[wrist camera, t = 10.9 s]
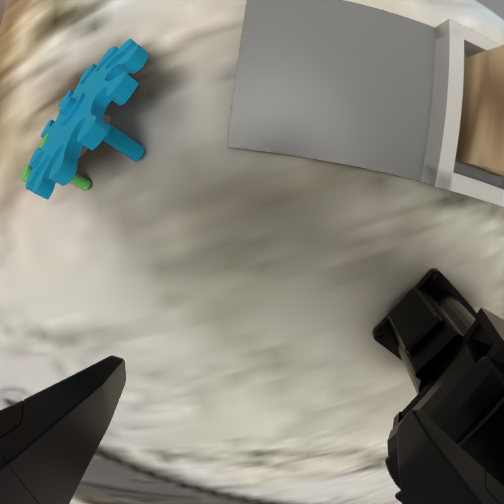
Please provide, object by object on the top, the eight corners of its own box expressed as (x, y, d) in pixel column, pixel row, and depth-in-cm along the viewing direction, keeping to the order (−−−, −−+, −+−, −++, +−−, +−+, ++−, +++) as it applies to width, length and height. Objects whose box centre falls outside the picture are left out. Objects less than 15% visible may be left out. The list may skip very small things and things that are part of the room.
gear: (137, 11, 14) (115, 92, 9) (196, 68, 19) (214, 171, 14) (34, 119, 18) (-3, 232, 13) (90, 154, 23) (77, 263, 18)
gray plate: (524, 79, 14) (549, 76, 11) (510, 207, 17) (535, 218, 14) (250, -5, 14) (245, -27, 12) (229, 146, 18) (219, 147, 15)
